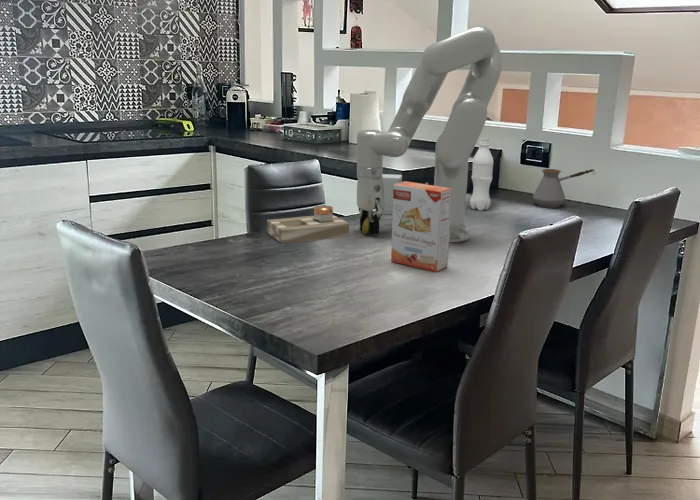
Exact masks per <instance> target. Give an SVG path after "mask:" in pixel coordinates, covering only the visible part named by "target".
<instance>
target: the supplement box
mask: <svg viewBox="0 0 700 500" xmlns="http://www.w3.org/2000/svg"><path fill="white" fill-rule="evenodd" d="M382 179H383V185H384V197H385V209H384V211H383V215H392V216H393V189H394V184H397V183H401V182H403V175H402V174H385V173H382Z"/></svg>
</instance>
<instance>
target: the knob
mask: <svg viewBox="0 0 700 500" xmlns="http://www.w3.org/2000/svg"><path fill="white" fill-rule="evenodd" d="M369 217H370V216H368V217H367V218H366V219H365V220H364V222H363V225H362V231H361V232H362V233H363V234H364V235H367V234H369V222H370V218H369Z"/></svg>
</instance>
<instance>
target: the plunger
mask: <svg viewBox="0 0 700 500" xmlns="http://www.w3.org/2000/svg"><path fill="white" fill-rule="evenodd" d="M333 213H334V207H333V206H332V205H325V204H323V205H315V206H314V207H313V214H314V215H313V216H314V220H315V221H317V222H318V223H322V222H332V221H333V215H334V214H333Z"/></svg>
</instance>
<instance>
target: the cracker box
mask: <svg viewBox="0 0 700 500" xmlns="http://www.w3.org/2000/svg"><path fill="white" fill-rule="evenodd" d="M433 185H434V184H428V185H426V184H425V183H419V182H413V181H402V182H401V183H397V184H394V189H393V215H392V217H391V218H392V220H391V221H392V224H391V225H392V226H391V228H392V229H391V249H390V250H391V253H390V254H391V255H390V257H391V258H390V261H391V263H392V262H393V263H396V264H401V265H404V266H405V265H406V266H409V267H414V268H417V269H423V270H427V271H431V272H434V273H437V272H440V271H441V270H443V269H446V268H447V267H448V265H449V264H448V262H449V247H450V242H449V232H450V214H451V196H452V189H451V188H446V187H439V186H433Z"/></svg>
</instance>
